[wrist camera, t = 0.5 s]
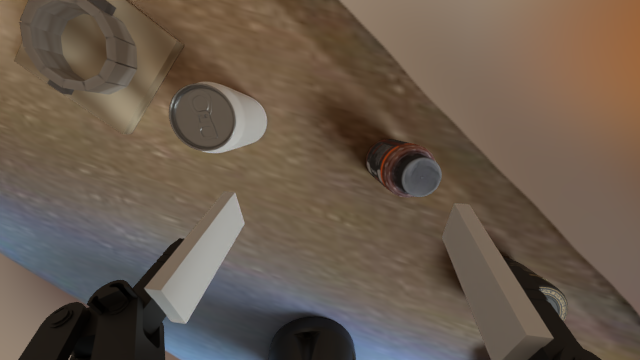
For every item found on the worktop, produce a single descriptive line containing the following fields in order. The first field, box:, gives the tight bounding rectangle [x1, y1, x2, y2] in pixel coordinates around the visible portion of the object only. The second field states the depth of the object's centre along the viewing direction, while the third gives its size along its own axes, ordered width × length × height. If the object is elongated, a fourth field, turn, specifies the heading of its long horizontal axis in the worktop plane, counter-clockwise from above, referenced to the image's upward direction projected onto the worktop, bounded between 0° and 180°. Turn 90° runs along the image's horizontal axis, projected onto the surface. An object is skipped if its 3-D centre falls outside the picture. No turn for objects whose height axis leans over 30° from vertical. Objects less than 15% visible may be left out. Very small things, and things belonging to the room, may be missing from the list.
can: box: [169, 82, 267, 153], centre depth 25 cm, size 6×6×12 cm
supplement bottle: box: [366, 139, 441, 197], centre depth 27 cm, size 6×6×11 cm
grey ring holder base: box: [14, 0, 184, 135], centre depth 26 cm, size 14×14×4 cm
